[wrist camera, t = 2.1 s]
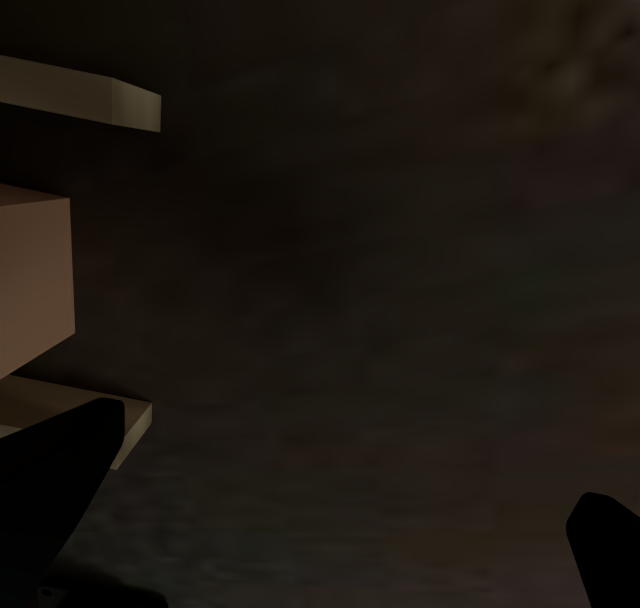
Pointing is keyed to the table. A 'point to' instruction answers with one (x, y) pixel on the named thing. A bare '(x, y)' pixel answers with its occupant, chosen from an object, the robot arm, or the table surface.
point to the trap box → (98, 105)
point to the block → (33, 275)
